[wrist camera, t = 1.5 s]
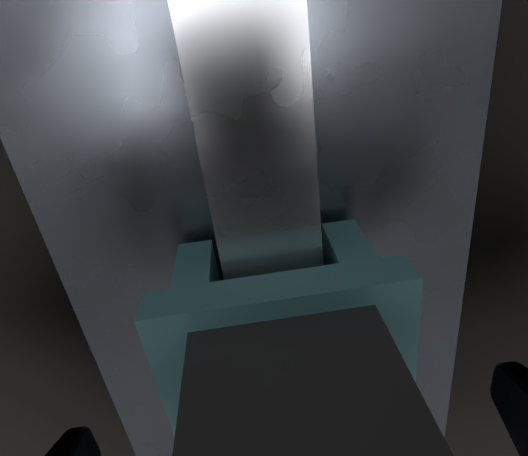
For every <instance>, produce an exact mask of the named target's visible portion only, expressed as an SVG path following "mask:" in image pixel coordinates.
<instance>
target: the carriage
mask: <svg viewBox="0 0 528 456" xmlns="http://www.w3.org/2000/svg"><path fill="white" fill-rule="evenodd" d="M322 239H323V255H324V265H323V266H316V267H310V268H303V269H296V270H289V271H282V272H276V273H269V274H262V275H255V276H248V277H242V278H235V279H228V280H221V281H220V277H219V272H218V268H217V263H216V258H215V253H214V248H213V244H212V240H206V241H199V242H193V243H186V244H179V245H178V250H177V254H176V259H175V264H174V268H173V273H172V278H171V282H170V287H169V288H167V289H160V290H153V291H146V292H143V293H142V296H141V300H140V303H139V306H138V309H137V313H136V316H135V319H134V323H135V326H136V329H137V332H138V334H139V337H140V340H141V343H142V346H143V349H144V352H145V355H146V358H147V360H148V363H149V366H150V369H151V372H152V375H153V378H154V381H155V384H156V386H157V389H158V392H159V395H160V398H161V401H162V404H163V407H164V410H165V412H166V415H167V418H168V421H169V424H170V427H171V430H172V433H173V435H174V446H173V454H172V456H453V454H452V452H451V450H450V448H449V446H448V444H447V442H446V440H445V439H444V437H443V435H442V433H441V431H440V429H439V427H438V425H437V423H436V421H435V419H434V417H433V415H432V413H431V411H430V409H429V408H428V406H427V404H426V402H425V400H424V398H423V396H422V394H421V392H420V390H419V388H418V386H417V384H416V370H417V356H418V343H419V329H420V315H421V302H422V288H423V277H422V276H421V275H420V273H419V272H418V271H417V269H416V268H415V267H414V265H413V264H412V263H411V261H410V260H409V259H408V257H407V256H406V255H405V254H398V255H391V256H385V257H378V256H377V254H376V252H375V251H374V249H373V248H372V246H371V245H370V243H369V241H368V240H367V238H366V237H365V235H364V233H363V232H362V230H361V229H360V227H359V226H358V224H357V222H356V221H355V219H351V220H344V221H337V222H330V223H323V224H322Z"/></svg>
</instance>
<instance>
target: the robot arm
mask: <svg viewBox="0 0 528 456" xmlns="http://www.w3.org/2000/svg"><path fill="white" fill-rule="evenodd" d="M490 392H491V397H492V400H493V402H494V404H495V406H496V408H497V410H498V412H499V414H500V416H501V418H502V420H503V422H504V424H505V427H506V429H507V431H508V433H509V435H510V437H511V439H512V441H513V443H514V445H515V447H516V449H517V451H518V453H519V455H520V456H528V368H527V367H525V366H523V365H522V364H520V363H518V362H514V361H511V362H504V363H498V364H497V365H496V366H495V368H494V372H493V378H492V383H491V388H490ZM45 456H101V452H100V449H99V446H98V444H97V442H96V440H95V438H94V436H93V434H92V432H91V430H90V428H88V427H87V426H83V427H76V428H71V429H68V430H67V431H66V432H65V433H64V434H63V435H62V436H61V437H60V438H59V440H58V441H57V442H56V443H55V444H54V445H53V447H52V448H51V449H50V450H49V451H48V452H47V453H46V455H45Z"/></svg>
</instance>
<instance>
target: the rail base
mask: <svg viewBox="0 0 528 456" xmlns="http://www.w3.org/2000/svg"><path fill="white" fill-rule="evenodd" d="M501 7H502V0H0V138H1V141H2V143H3V145H4V148H5V150H6V152H7V155H8V157H9V159H10V162H11V164H12V167H13V169H14V171H15V174H16V176H17V178H18V181H19V183H20V185H21V188H22V190H23V192H24V195H25V197H26V199H27V202H28V204H29V206H30V209H31V211H32V213H33V216H34V218H35V220H36V223H37V225H38V227H39V230H40V232H41V234H42V237H43V239H44V241H45V244H46V246H47V248H48V251H49V253H50V255H51V258H52V260H53V262H54V265H55V267H56V269H57V272H58V274H59V276H60V279H61V281H62V283H63V286H64V288H65V290H66V293H67V295H68V297H69V300H70V302H71V304H72V307H73V309H74V312H75V314H76V316H77V319H78V321H79V323H80V326H81V328H82V330H83V333H84V335H85V337H86V340H87V342H88V344H89V347H90V349H91V351H92V354H93V356H94V358H95V361H96V363H97V365H98V368H99V370H100V372H101V375H102V377H103V379H104V382H105V384H106V386H107V389H108V391H109V393H110V396H111V398H112V400H113V403H114V405H115V407H116V410H117V412H118V414H119V417H120V419H121V421H122V424H123V426H124V428H125V431H126V433H127V435H128V438H129V440H130V442H131V445H132V447H133V449H134V452H135V454H136V456H172V454H173V446H174V435H173V433H172V430H171V427H170V424H169V421H168V418H167V415H166V412H165V410H164V407H163V404H162V401H161V398H160V395H159V392H158V389H157V386H156V384H155V381H154V378H153V375H152V372H151V369H150V366H149V363H148V360H147V358H146V355H145V352H144V349H143V346H142V343H141V340H140V337H139V334H138V332H137V329H136V326H135V323H134V319H135V316H136V313H137V309H138V306H139V303H140V300H141V296H142V293H143V292H146V291H153V290H160V289H167V288H169V287H170V282H171V278H172V273H173V268H174V264H175V259H176V254H177V250H178V245H179V244H186V243H193V242H199V241H206V240H212V244H213V248H214V253H215V258H216V263H217V268H218V272H219V277H220V281H221V280H228V279H235V278H242V277H248V276H255V275H262V274H269V273H276V272H282V271H289V270H296V269H303V268H310V267H316V266H323V265H324V255H323V239H322V224H323V223H330V222H337V221H344V220H351V219H355V221H356V222H357V224H358V226H359V227H360V229H361V230H362V232H363V233H364V235H365V237H366V238H367V240H368V241H369V243H370V245H371V246H372V248H373V249H374V251H375V252H376V254H377V256H378V257H385V256H391V255H398V254H405V255H406V256H407V257H408V259H409V260H410V261H411V263H412V264H413V265H414V267H415V268H416V269H417V271H418V272H419V273H420V275H421V276H422V277H423V288H422V302H421V315H420V329H419V343H418V356H417V370H416V384H417V386H418V388H419V390H420V392H421V394H422V396H423V398H424V400H425V402H426V404H427V406H428V408H429V409H430V411H431V413H432V415H433V417H434V419H435V421H436V423H437V425H438V427H439V429H440V431H441V433H442V435H443V437H444V438H445V430H446V422H447V415H448V407H449V400H450V392H451V385H452V377H453V369H454V362H455V354H456V347H457V339H458V332H459V324H460V317H461V309H462V301H463V294H464V286H465V279H466V271H467V264H468V256H469V248H470V241H471V233H472V226H473V218H474V211H475V203H476V196H477V188H478V180H479V173H480V165H481V158H482V150H483V143H484V135H485V128H486V120H487V112H488V105H489V97H490V90H491V82H492V75H493V67H494V59H495V52H496V44H497V37H498V29H499V22H500V14H501Z"/></svg>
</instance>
